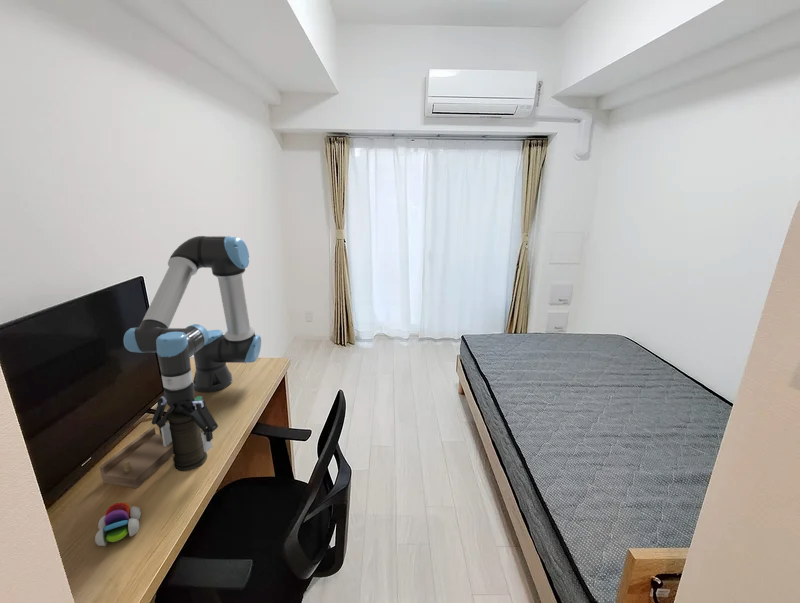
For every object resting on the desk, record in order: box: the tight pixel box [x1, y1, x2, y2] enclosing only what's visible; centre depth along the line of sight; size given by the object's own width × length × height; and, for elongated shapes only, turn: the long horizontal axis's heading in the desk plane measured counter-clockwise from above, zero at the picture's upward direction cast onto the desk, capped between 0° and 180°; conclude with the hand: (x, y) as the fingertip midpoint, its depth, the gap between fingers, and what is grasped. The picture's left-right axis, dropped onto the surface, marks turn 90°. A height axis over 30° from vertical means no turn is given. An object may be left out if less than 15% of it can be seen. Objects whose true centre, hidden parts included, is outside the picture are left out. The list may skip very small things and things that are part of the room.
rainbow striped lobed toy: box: [94, 501, 142, 547], centre depth 93 cm, size 8×10×7 cm
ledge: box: [99, 426, 174, 489], centre depth 117 cm, size 19×11×6 cm, turn 171°
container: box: [167, 409, 208, 472], centre depth 116 cm, size 9×9×18 cm
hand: (188, 446), depth 117 cm, fingers open, 13 cm apart
